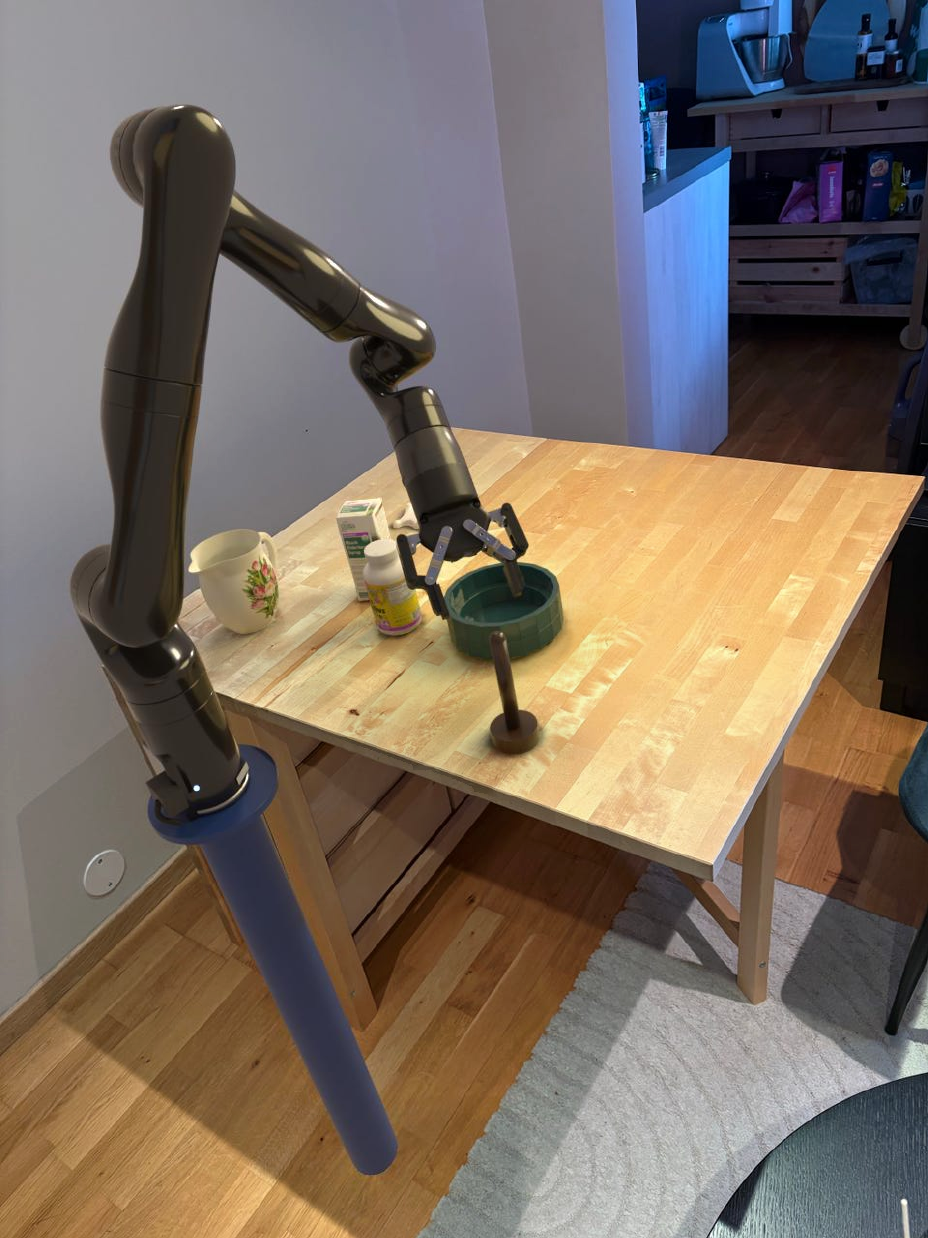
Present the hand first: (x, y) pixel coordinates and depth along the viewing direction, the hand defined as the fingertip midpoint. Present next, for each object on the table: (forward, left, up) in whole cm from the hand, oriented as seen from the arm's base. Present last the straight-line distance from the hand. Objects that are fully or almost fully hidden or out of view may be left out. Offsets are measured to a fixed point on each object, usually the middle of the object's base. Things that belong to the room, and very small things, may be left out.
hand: (482, 606), depth 102 cm
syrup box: (+9, +37, -16) cm, 41 cm away
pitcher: (-7, +48, -16) cm, 51 cm away
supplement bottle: (+5, +27, -16) cm, 32 cm away
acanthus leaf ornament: (+27, +50, -16) cm, 59 cm away
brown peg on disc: (-2, -4, -16) cm, 17 cm away
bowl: (+13, +13, -16) cm, 24 cm away
